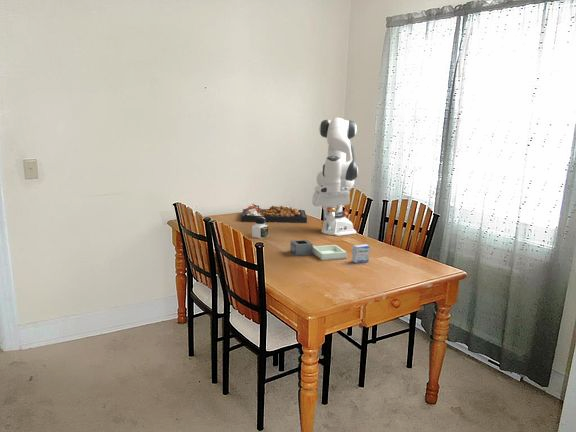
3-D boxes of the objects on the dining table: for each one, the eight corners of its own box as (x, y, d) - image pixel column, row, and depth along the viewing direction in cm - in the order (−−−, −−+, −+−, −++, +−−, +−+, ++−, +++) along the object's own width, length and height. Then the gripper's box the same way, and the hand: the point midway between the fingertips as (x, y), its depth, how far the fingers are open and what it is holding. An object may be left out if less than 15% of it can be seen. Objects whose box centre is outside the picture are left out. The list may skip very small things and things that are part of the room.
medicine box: (356, 263, 245) (357, 247, 243) (351, 261, 248) (352, 245, 246) (368, 261, 248) (369, 245, 246) (363, 259, 252) (364, 243, 250)
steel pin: (332, 228, 256) (333, 206, 253) (335, 230, 252) (336, 208, 249) (324, 229, 255) (325, 207, 252) (327, 231, 251) (328, 208, 248)
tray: (335, 250, 265) (335, 244, 264) (346, 258, 252) (346, 252, 251) (312, 252, 261) (312, 246, 260) (321, 260, 248) (322, 254, 247)
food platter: (241, 222, 326) (241, 207, 323) (243, 214, 350) (243, 201, 347) (306, 223, 328) (307, 209, 325) (304, 216, 351) (304, 202, 349)
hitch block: (306, 249, 265) (306, 239, 264) (312, 254, 257) (312, 244, 255) (290, 251, 262) (290, 240, 261) (295, 256, 254) (296, 245, 252)
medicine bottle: (260, 239, 285) (261, 219, 282) (251, 236, 289) (251, 217, 286) (268, 236, 290) (268, 217, 288) (259, 234, 294) (259, 215, 292)
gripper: (347, 186, 254) (346, 211, 258) (311, 187, 248) (310, 213, 251) (352, 188, 249) (351, 214, 252) (316, 189, 242) (315, 215, 245)
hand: (330, 213), depth 251 cm, fingers closed on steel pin, 4 cm apart
